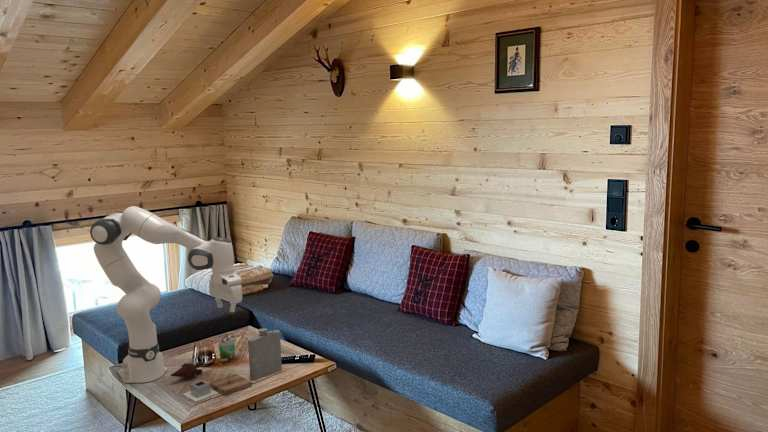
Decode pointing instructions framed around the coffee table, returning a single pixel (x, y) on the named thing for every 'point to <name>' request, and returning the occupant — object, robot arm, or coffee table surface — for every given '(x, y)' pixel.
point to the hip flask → (264, 354)
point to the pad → (201, 396)
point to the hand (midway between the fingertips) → (226, 309)
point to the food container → (227, 348)
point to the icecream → (188, 370)
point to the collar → (200, 388)
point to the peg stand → (230, 384)
